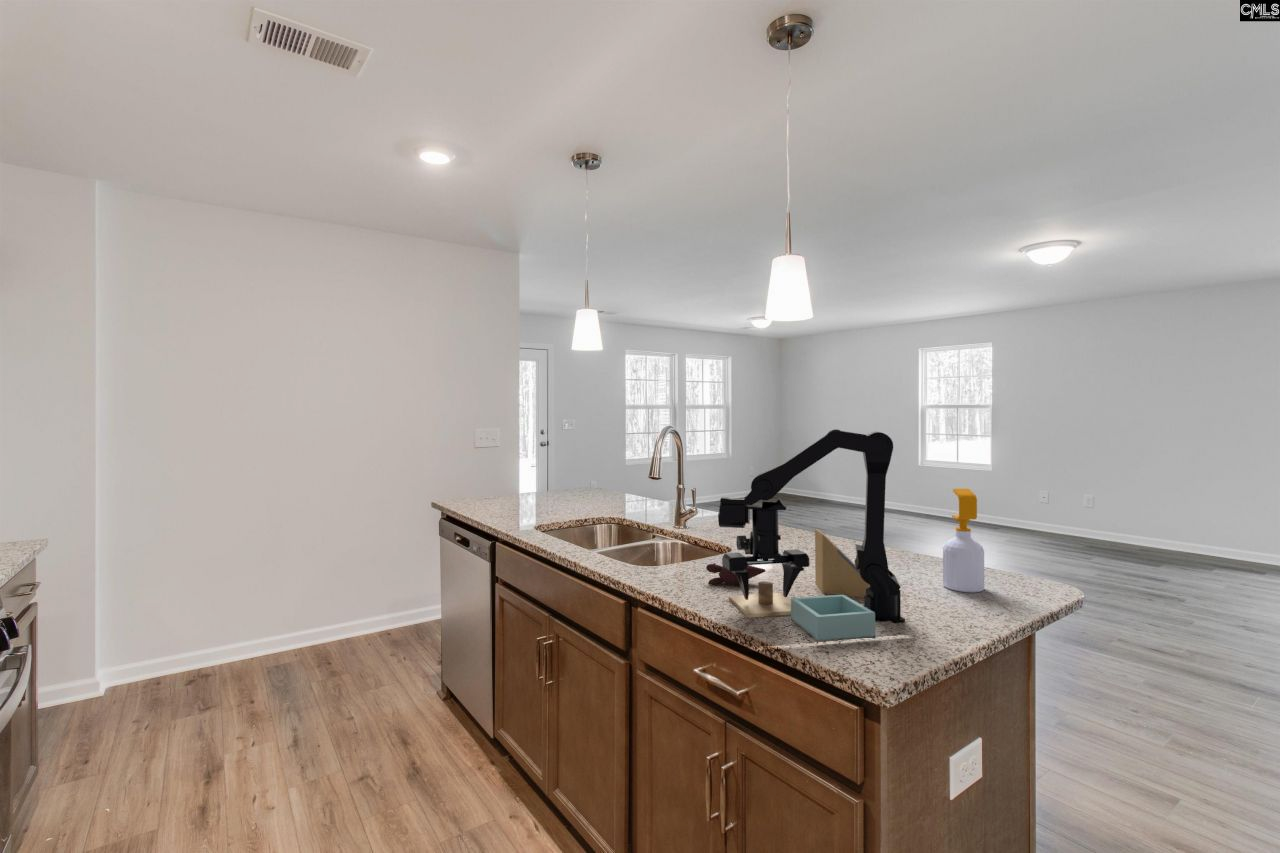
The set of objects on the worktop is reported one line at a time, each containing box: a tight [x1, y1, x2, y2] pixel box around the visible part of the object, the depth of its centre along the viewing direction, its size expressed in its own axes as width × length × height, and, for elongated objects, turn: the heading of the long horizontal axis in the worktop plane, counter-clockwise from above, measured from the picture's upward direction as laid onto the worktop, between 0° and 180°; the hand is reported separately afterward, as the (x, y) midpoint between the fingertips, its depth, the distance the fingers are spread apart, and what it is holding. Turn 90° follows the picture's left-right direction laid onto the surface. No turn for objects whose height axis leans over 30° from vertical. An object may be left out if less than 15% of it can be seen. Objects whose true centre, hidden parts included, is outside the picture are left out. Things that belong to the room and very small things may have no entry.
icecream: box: [705, 562, 766, 586], centre depth 153 cm, size 7×7×15 cm
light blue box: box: [790, 594, 876, 641], centre depth 121 cm, size 12×12×5 cm
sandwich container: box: [814, 528, 870, 597], centre depth 147 cm, size 9×15×15 cm, turn 85°
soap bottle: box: [942, 488, 985, 594], centre depth 148 cm, size 9×9×25 cm
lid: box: [728, 580, 791, 619], centre depth 134 cm, size 13×13×5 cm
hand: (765, 598), depth 134 cm, fingers open, 9 cm apart
